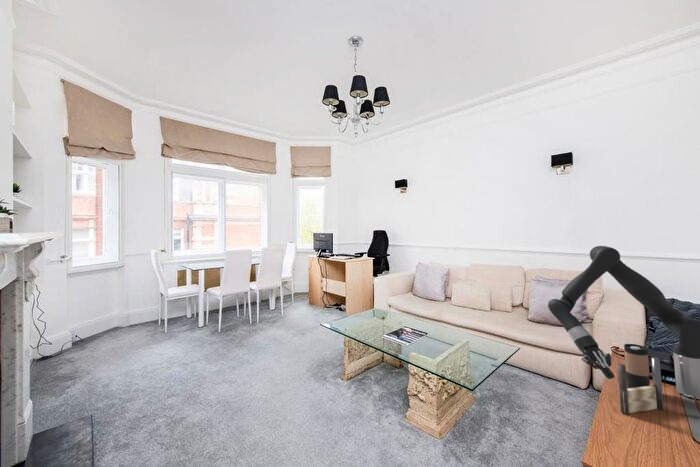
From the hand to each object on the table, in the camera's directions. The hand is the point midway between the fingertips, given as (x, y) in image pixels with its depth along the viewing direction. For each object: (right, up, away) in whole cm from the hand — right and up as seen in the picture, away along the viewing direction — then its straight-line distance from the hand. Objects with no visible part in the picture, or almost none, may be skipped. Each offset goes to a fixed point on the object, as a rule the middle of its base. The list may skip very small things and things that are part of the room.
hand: (611, 378), depth 120 cm
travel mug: (+21, -11, +10) cm, 26 cm away
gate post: (+17, -11, -2) cm, 20 cm away
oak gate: (+7, -11, -4) cm, 14 cm away
